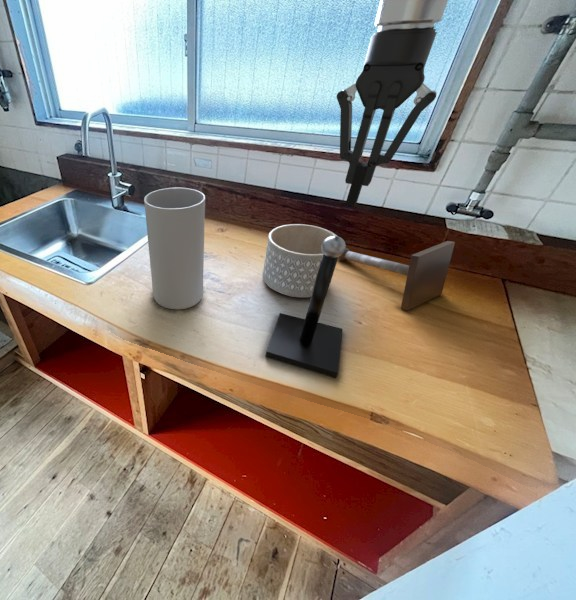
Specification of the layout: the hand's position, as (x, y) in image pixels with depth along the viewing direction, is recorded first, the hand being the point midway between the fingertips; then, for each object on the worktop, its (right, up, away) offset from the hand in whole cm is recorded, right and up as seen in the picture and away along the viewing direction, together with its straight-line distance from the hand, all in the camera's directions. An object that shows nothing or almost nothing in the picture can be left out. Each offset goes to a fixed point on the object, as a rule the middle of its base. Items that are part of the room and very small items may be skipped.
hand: (351, 202), depth 57 cm
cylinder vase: (-30, -16, +24) cm, 42 cm away
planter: (0, -13, +27) cm, 30 cm away
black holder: (-1, -18, 0) cm, 18 cm away
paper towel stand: (+22, -11, +28) cm, 37 cm away
